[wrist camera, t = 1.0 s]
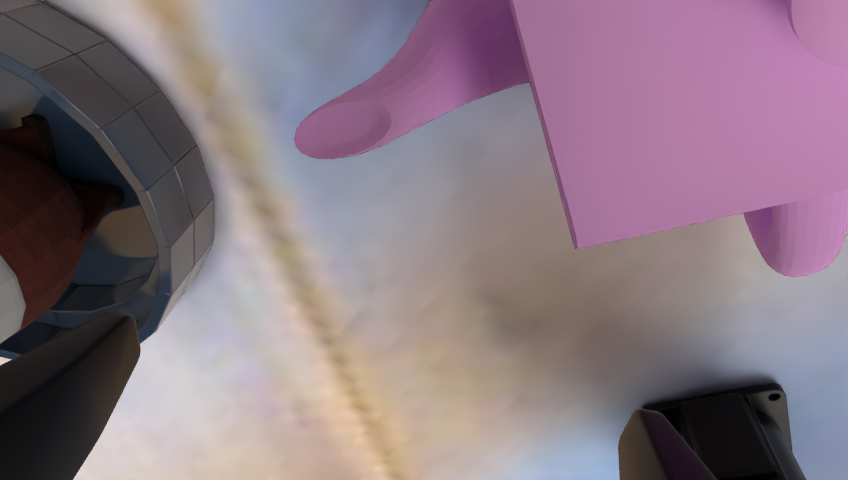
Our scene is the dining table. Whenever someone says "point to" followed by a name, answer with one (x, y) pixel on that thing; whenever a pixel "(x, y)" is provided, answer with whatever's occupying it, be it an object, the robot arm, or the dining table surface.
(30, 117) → the mate gourd
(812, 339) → the dining table surface
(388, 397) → the dining table surface
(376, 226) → the dining table surface
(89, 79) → the large metal bowl
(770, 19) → the teapot
